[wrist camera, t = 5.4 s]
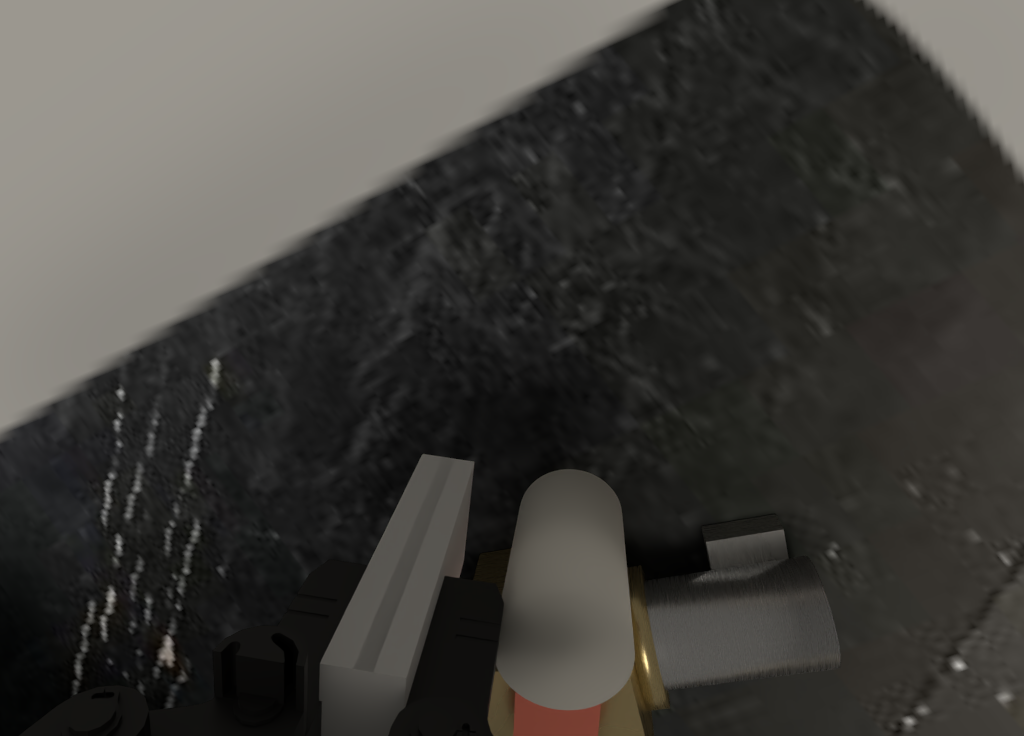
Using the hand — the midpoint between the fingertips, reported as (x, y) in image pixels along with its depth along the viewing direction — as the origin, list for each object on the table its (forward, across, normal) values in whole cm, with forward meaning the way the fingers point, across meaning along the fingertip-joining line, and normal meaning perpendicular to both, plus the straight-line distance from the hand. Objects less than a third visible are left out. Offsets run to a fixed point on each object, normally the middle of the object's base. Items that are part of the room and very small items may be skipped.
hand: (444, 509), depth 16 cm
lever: (+2, +4, -6) cm, 7 cm away
